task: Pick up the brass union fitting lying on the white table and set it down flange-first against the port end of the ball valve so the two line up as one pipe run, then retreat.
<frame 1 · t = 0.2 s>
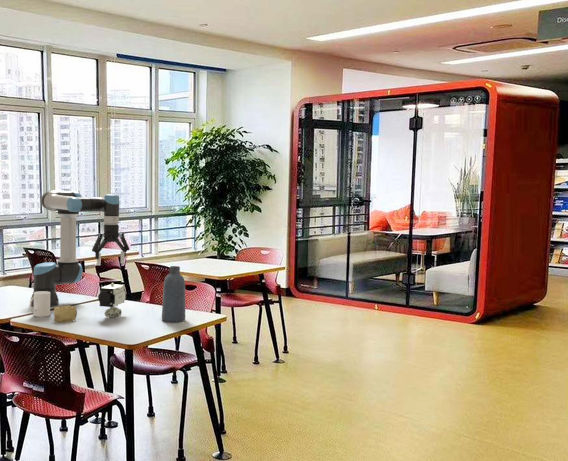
hand: (110, 264, 324), 28 cm above the table, fingers open, 13 cm apart
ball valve: (113, 316, 326), on the table
mug: (39, 316, 322), on the table
gray bottle: (173, 320, 323), on the table
brass union: (64, 320, 313), on the table
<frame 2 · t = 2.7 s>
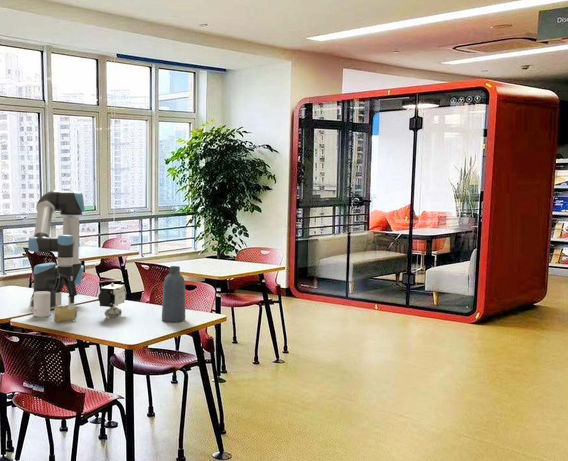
hand: (64, 307, 312), 7 cm above the table, fingers open, 13 cm apart
nothing on the table moved.
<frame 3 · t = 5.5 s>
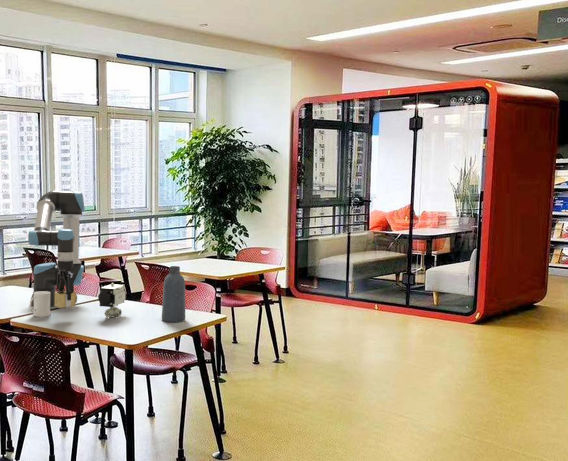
hand: (64, 305, 313), 8 cm above the table, fingers closed on brass union, 6 cm apart
brass union: (64, 305, 313), point 7 cm above the table, touching gripper
everything else where it was.
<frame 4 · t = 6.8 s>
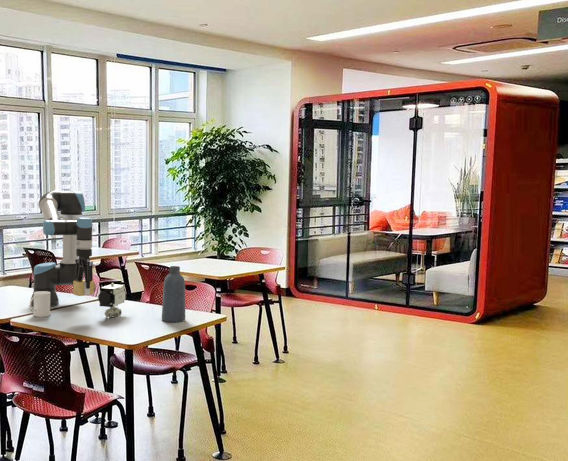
hand: (83, 293, 313), 14 cm above the table, fingers closed on brass union, 6 cm apart
brass union: (83, 294, 313), point 14 cm above the table, touching gripper
everything else where it was.
when the fingers open (0 cm above the table, at t = 8.5 s): brass union stays where it is, on the table.
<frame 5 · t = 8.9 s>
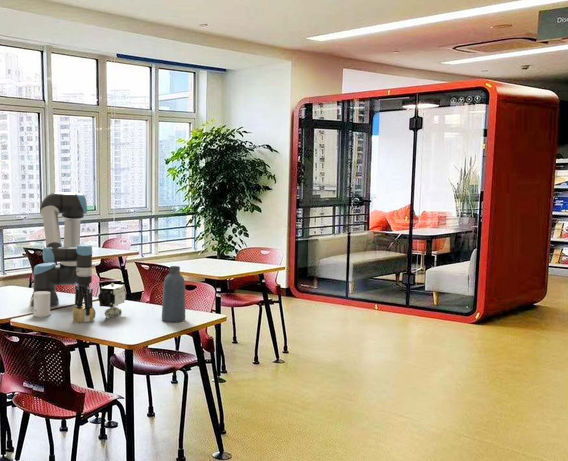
hand: (83, 320, 314), 0 cm above the table, fingers open, 6 cm apart
brass union: (83, 321, 314), on the table
everything else where it was.
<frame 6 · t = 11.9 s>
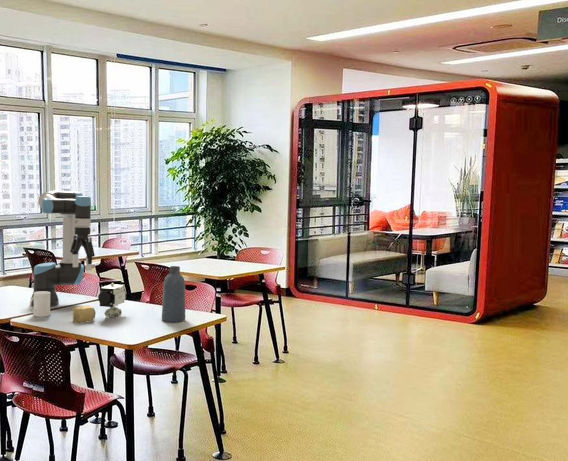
hand: (82, 268, 311), 27 cm above the table, fingers open, 13 cm apart
nothing on the table moved.
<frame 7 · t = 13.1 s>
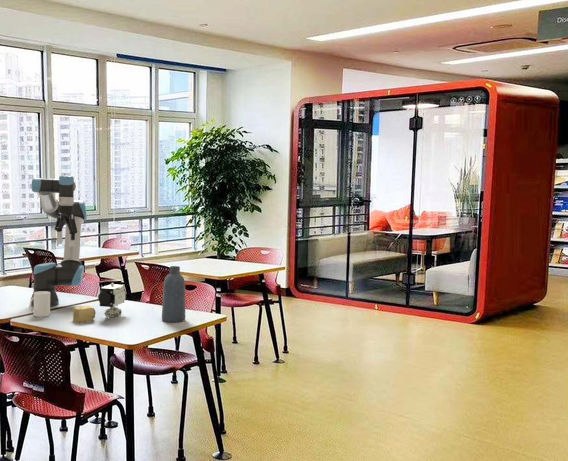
hand: (65, 245, 327), 37 cm above the table, fingers open, 13 cm apart
nothing on the table moved.
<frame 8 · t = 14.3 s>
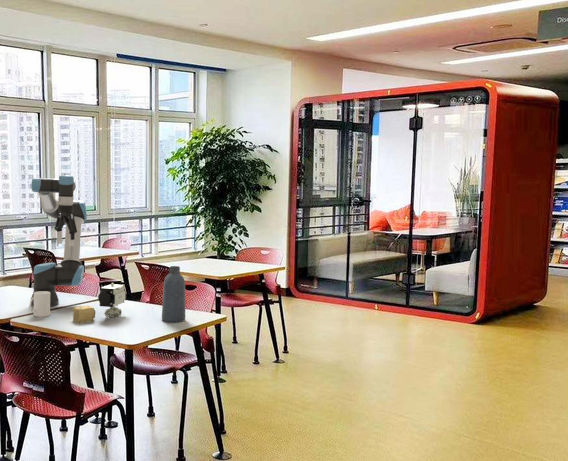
hand: (65, 244, 327), 37 cm above the table, fingers open, 13 cm apart
nothing on the table moved.
at the end: brass union inside the target area (0.4 cm from its centre), on the table; brass union tilted 0°; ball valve moved 0.2 cm from its start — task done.
